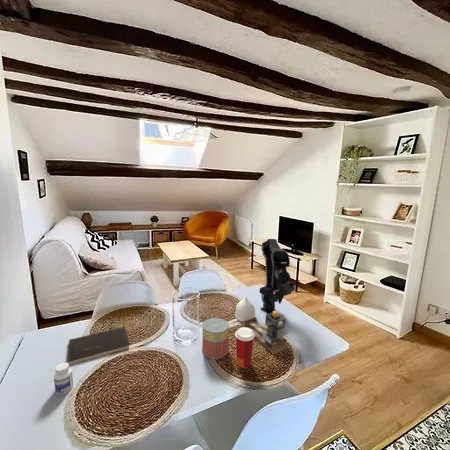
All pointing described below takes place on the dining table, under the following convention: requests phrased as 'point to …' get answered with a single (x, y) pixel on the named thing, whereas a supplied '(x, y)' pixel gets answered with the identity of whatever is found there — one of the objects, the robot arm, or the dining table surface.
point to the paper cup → (244, 346)
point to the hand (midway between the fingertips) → (276, 304)
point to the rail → (258, 334)
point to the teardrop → (244, 310)
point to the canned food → (215, 338)
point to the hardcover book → (97, 345)
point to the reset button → (275, 314)
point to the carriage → (271, 335)
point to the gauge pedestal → (275, 321)
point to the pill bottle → (63, 378)
